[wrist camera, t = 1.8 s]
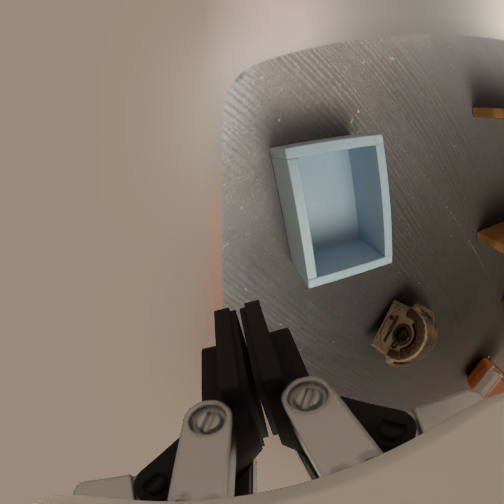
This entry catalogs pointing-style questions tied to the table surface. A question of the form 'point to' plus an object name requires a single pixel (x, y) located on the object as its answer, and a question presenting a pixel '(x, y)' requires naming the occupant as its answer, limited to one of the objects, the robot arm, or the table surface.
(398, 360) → the mechanical counter
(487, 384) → the coil
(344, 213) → the basket
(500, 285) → the table surface
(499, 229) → the shelf
